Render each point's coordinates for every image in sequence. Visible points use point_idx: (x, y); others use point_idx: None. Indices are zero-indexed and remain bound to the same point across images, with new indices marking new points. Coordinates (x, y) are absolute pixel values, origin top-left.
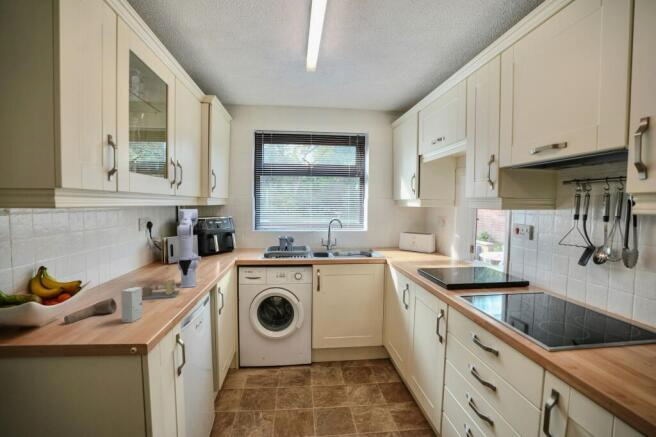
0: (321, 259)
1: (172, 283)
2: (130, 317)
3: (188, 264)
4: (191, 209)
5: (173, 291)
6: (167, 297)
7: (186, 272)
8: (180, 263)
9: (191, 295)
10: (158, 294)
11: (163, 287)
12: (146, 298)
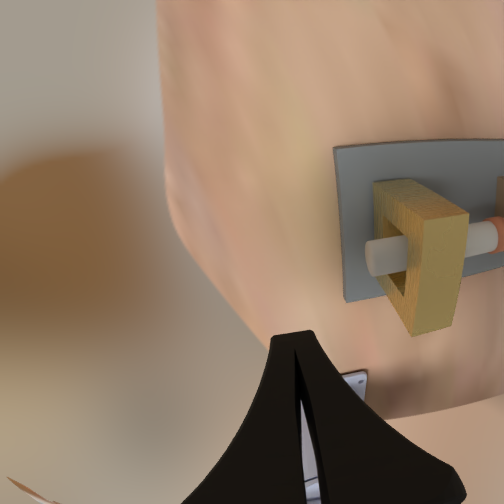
0: (35, 497)
1: (409, 255)
2: None
3: (203, 493)
4: None
5: None
6: (384, 142)
7: (268, 364)
8: (421, 492)
9: (211, 199)
10: None
11: None
12: (496, 140)
